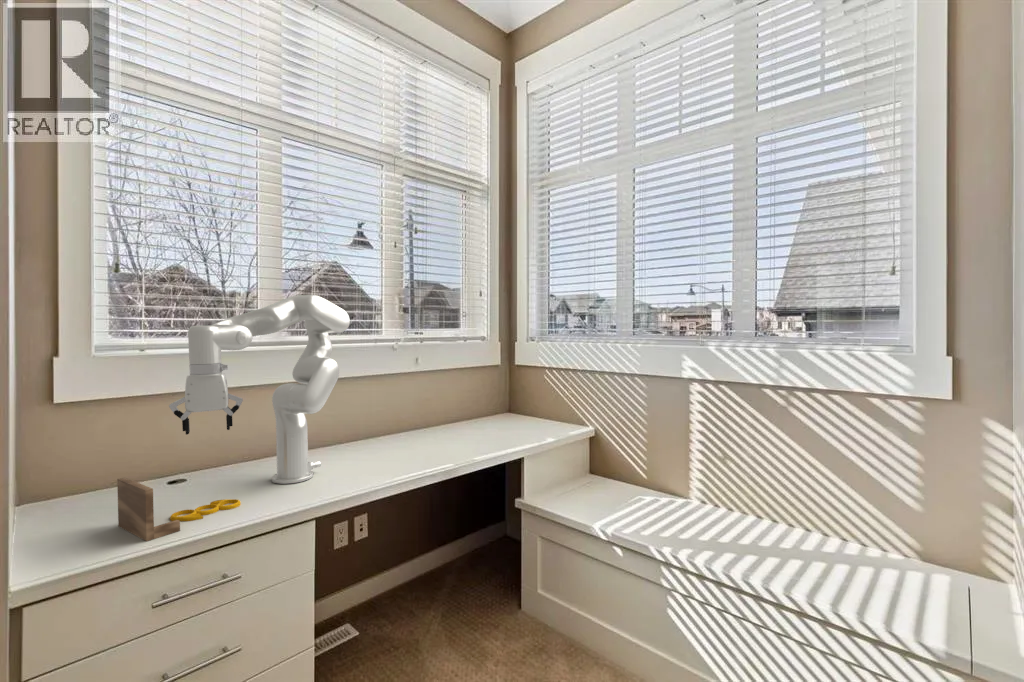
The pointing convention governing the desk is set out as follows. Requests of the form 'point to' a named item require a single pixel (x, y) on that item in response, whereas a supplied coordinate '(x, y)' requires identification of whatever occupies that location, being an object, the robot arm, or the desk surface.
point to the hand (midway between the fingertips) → (208, 431)
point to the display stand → (140, 511)
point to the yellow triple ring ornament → (198, 513)
